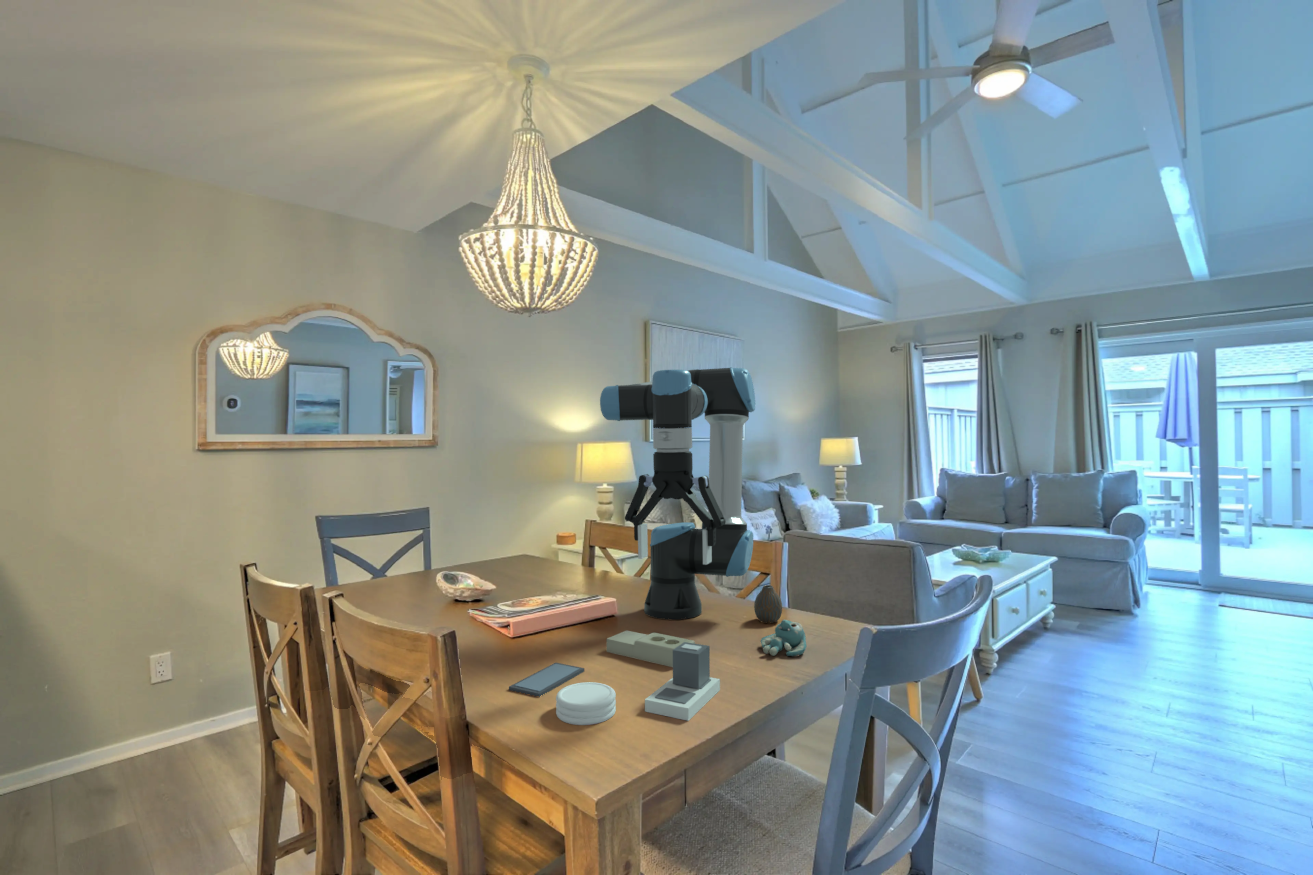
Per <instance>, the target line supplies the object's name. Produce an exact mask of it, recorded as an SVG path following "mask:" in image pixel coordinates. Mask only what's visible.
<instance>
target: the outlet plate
mask: <svg viewBox="0 0 1313 875" xmlns="http://www.w3.org/2000/svg"><path fill="white" fill-rule="evenodd" d="M720 691H721V678H716V677H712V676H710V679H709V680H708V681H707V682H706V683H705V684H704V685H702V686H701V687H700V688H699V689H697V688H692V687H687V686H681V685H676V684H673V677H672V678H670V679H669V680H668V681H666V682H665V683H664V684H663V685H660V687H659V688H657V689H656V690H655V691H654V692H652V693H651V694H650V695H649V696H648V697H646V698H645V699H644V712H645V713H646V712H647V713H650V714H655V715H661V716H666V717H669V718H673V719H678V720H683V721H687V722H688V721H690V720H691V719H692V718H693V717H694V716H695V715H697V713H698V712H699V711H700V710H702V708H703V707H704V706H705V705H706V704H707V703H708V702H710V700H711V699H713V697H715V696H716V695H717V693H719V692H720Z"/></svg>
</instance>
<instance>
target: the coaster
mask: <svg viewBox="0 0 1313 875" xmlns="http://www.w3.org/2000/svg"><path fill="white" fill-rule="evenodd" d="M616 695H617V694H616V691H615V689H614V688H612V686H609V685H608V684H605V683H600V682H595V681H593V682H592V681H591V682H589V681H588V682H587V681H586V682H585V681H584V682H578V683H577V682H576V683H573V684H569V685H567V686H565V687H562V688H561V689H560V690H559V691H558V692H557V693H556V696H555V702H556V703H555V707H556V709H555V714H556V717H557V718H558V719H559V721H561V722H563V723H566V724H570V725H574V726H575V725H576V726H589V725H597V724H601V723H603V722H605V721H608V720H610V719H611V718H613V716H614V715H615V713H616V710H617V707H616V704H617V701H616Z"/></svg>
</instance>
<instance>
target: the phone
mask: <svg viewBox="0 0 1313 875" xmlns="http://www.w3.org/2000/svg"><path fill="white" fill-rule="evenodd" d="M584 672H585V668H584V667H580V666H575V665H571V664H566V663H562V662H553V663H552V664H550V665H548V666H546V667H544V668H542V669H541V670H538V671H537V672H534V673H533V674H531V675H529V676H527V677H525V678H523V679H521V680H519V681H517V682H515V683H513V684H511V685H509V686H508V690H509V691H512V692H515V691H516V693H519V692H521V693H520V694H523V693H525V694H524V695H527V694H530V695H529V696H532V695H534V696H533V697H536V696H539V697H538V698H541V697H542V696H544V695H546V694H548V693H550V692H552V691H553V690H555V689H556V688H558V687H560V686H561V685H563V684H565V683H567V682H569V681H570V680H572V679H574V678H576V677H577V676H579V675H581V674H583V673H584ZM547 692H548V693H547ZM545 693H546V694H545ZM543 694H544V695H543ZM541 695H542V696H541ZM540 696H541V697H540Z"/></svg>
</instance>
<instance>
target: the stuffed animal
mask: <svg viewBox="0 0 1313 875" xmlns="http://www.w3.org/2000/svg"><path fill="white" fill-rule="evenodd" d="M806 638H807V637H806V633H805V631H804V627H803V625H802V624H801V623H799V622H795V621H791V620H788V619H782V620H781V622H780V623H778V624H777V625H776V626H775V628H774V633H772V634H769V635H765V636H763V637H761V639H760V644H761V647H762V650H763V653H764V654H766V655H768V654H769V655H770V656H776V655H777V654H778V652H782V651H783V650H784V649H785V650H786V652H785V654H786V657H794V656H795V657H798V655H799V656H801V655H803V654H804V653H805V651H806V649H807V639H806Z"/></svg>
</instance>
